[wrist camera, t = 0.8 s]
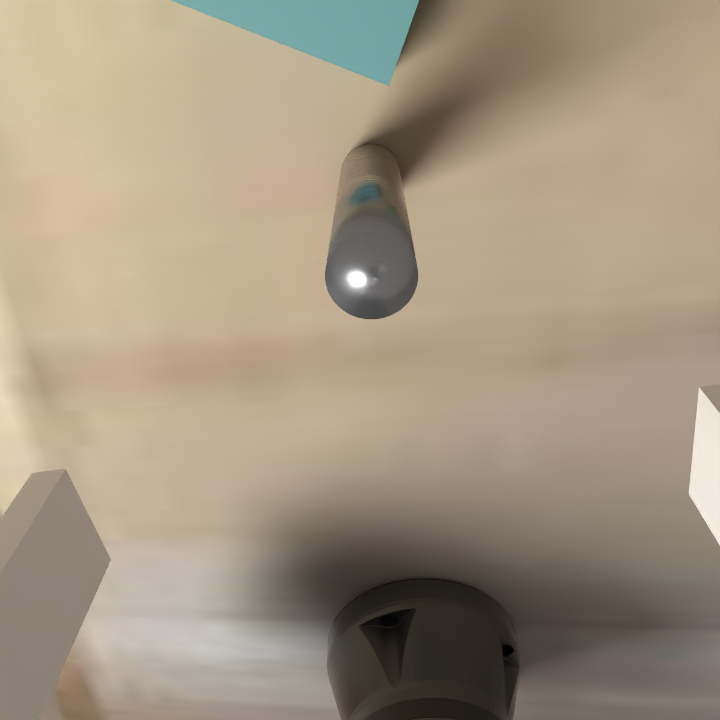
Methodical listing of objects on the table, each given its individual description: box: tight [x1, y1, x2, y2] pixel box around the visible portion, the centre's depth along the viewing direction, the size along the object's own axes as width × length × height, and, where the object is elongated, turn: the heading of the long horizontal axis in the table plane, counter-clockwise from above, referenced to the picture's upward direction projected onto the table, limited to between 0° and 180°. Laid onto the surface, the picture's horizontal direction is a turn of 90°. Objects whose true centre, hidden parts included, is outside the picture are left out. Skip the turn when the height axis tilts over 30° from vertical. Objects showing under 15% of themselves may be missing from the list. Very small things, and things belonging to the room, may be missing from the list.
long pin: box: [325, 144, 418, 319], centre depth 30 cm, size 3×3×15 cm
